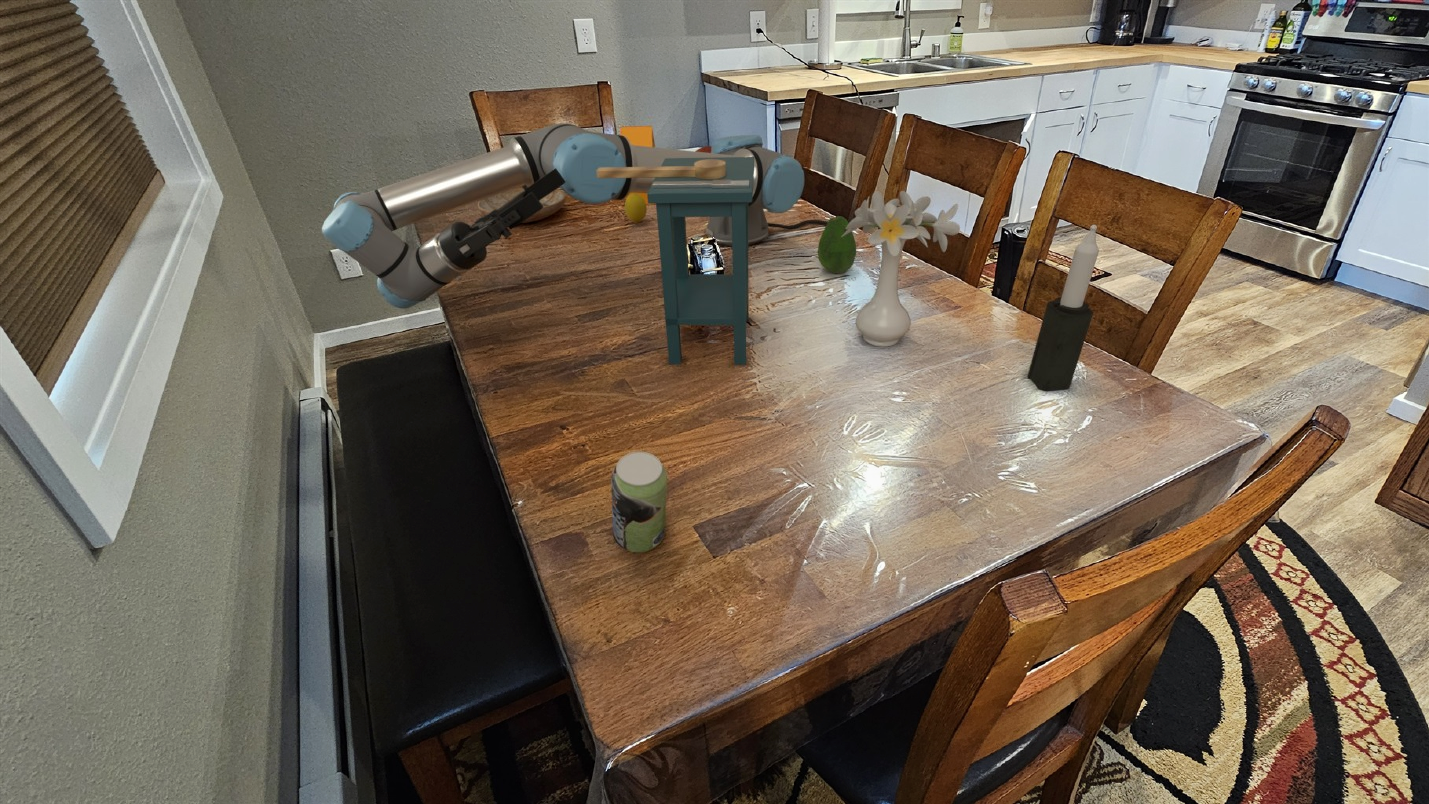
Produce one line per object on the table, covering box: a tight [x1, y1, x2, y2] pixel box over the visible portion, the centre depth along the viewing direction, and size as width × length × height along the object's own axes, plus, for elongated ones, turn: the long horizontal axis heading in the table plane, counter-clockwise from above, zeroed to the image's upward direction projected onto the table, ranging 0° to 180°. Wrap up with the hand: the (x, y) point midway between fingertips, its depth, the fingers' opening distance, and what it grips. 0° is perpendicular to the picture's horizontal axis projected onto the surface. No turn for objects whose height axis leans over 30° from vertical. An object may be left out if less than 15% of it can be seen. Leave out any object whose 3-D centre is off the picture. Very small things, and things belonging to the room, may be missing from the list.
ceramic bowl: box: [477, 187, 567, 224], centre depth 178 cm, size 23×24×5 cm
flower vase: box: [841, 190, 961, 348], centre depth 109 cm, size 13×18×25 cm
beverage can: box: [610, 451, 668, 553], centre depth 74 cm, size 6×7×12 cm
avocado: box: [817, 215, 857, 274], centre depth 138 cm, size 8×8×12 cm
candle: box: [1027, 224, 1100, 392], centre depth 96 cm, size 5×5×25 cm
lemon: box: [624, 193, 647, 225], centre depth 169 cm, size 6×6×8 cm
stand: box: [647, 157, 754, 366], centre depth 110 cm, size 15×20×29 cm
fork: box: [653, 180, 749, 189], centre depth 96 cm, size 14×2×1 cm, turn 86°
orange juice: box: [619, 125, 656, 205], centre depth 183 cm, size 8×9×20 cm
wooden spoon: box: [597, 159, 726, 179], centre depth 101 cm, size 20×5×2 cm, turn 86°
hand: (549, 187), depth 105 cm, fingers open, 13 cm apart
